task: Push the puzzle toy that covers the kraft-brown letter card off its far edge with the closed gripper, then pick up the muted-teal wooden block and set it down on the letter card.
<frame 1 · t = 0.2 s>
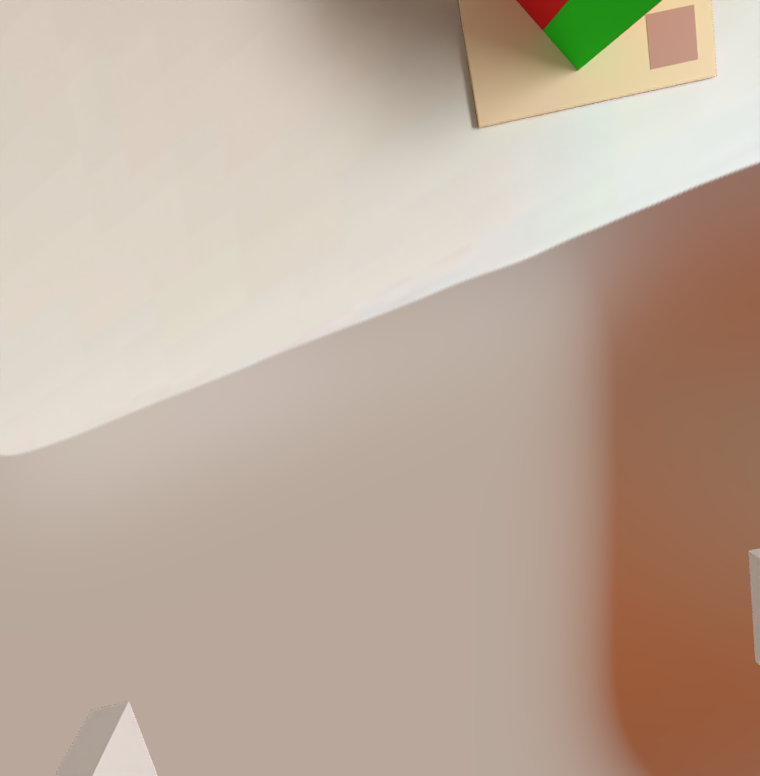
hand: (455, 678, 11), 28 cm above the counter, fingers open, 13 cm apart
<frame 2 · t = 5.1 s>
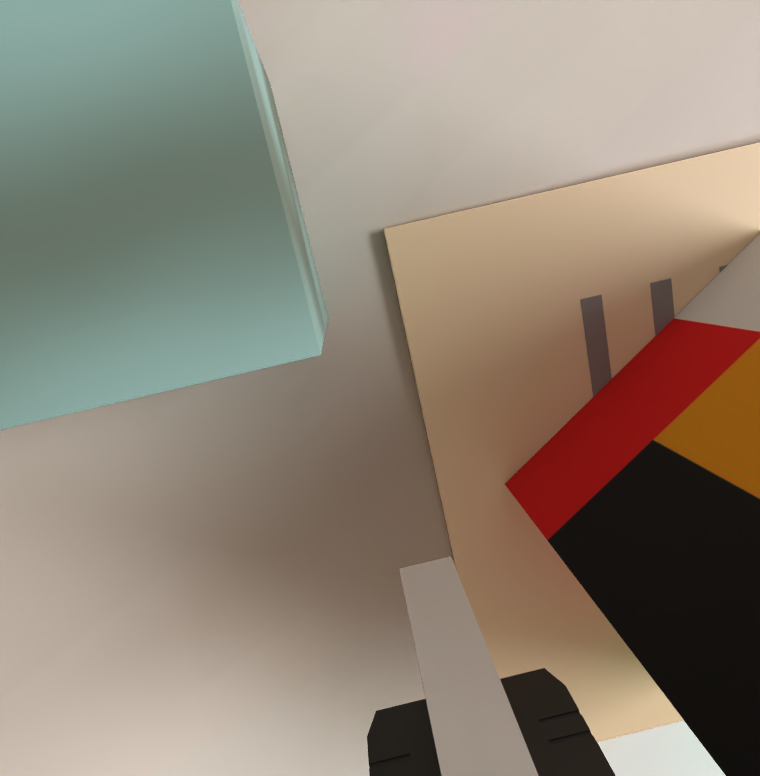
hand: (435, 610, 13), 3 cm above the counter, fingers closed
teal block: (189, 233, 14), on the counter
letter card: (698, 467, 17), on the counter
puzzle toy: (727, 468, 16), resting on letter card, touching gripper, hand
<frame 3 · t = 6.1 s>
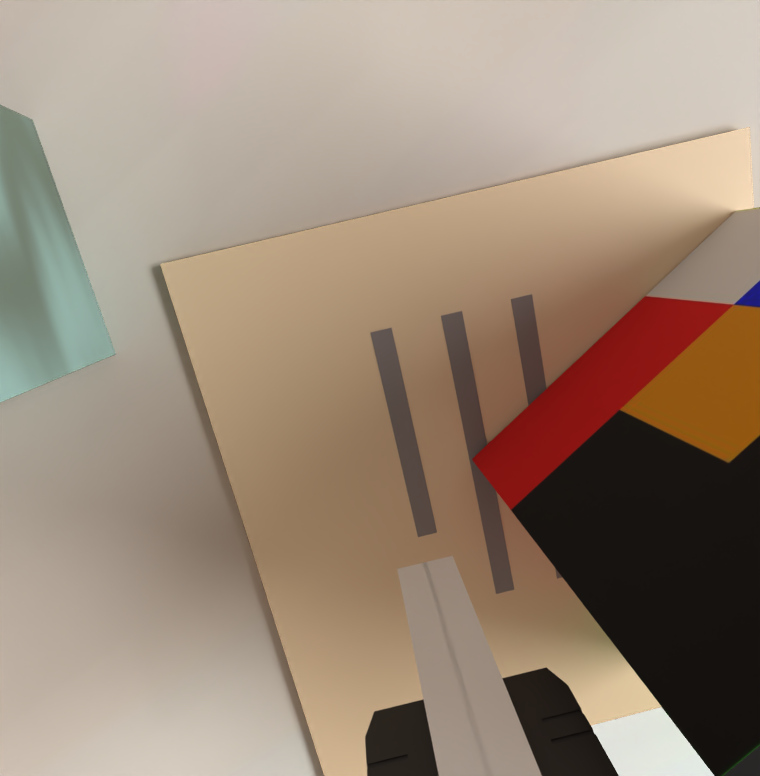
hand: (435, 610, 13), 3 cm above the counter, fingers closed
letter card: (511, 496, 17), on the counter
puzzle toy: (693, 451, 16), on the counter, touching gripper, letter card
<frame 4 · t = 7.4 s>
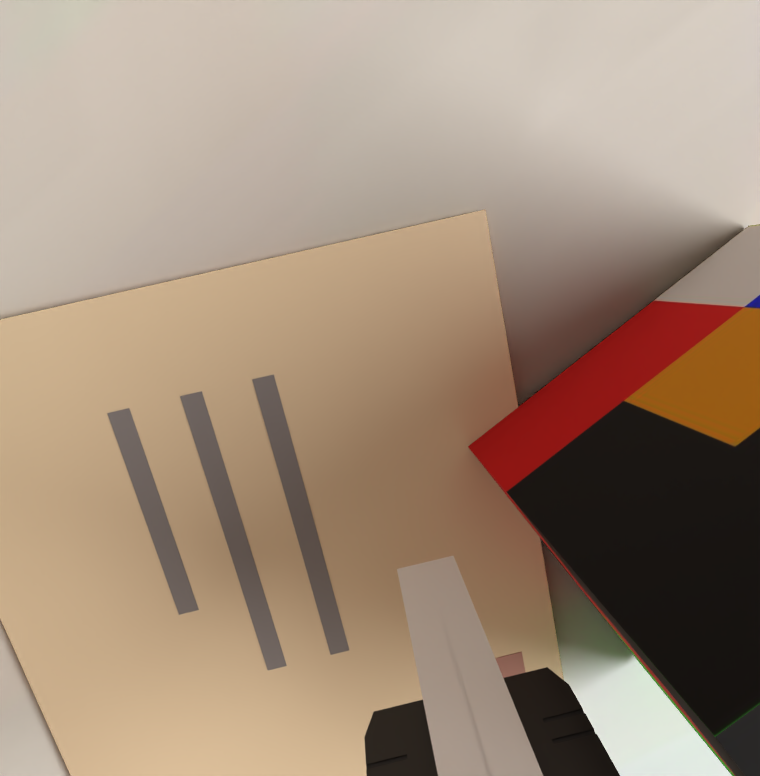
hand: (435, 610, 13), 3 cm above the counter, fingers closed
letter card: (278, 572, 16), on the counter
puzzle toy: (687, 462, 17), on the counter, touching letter card
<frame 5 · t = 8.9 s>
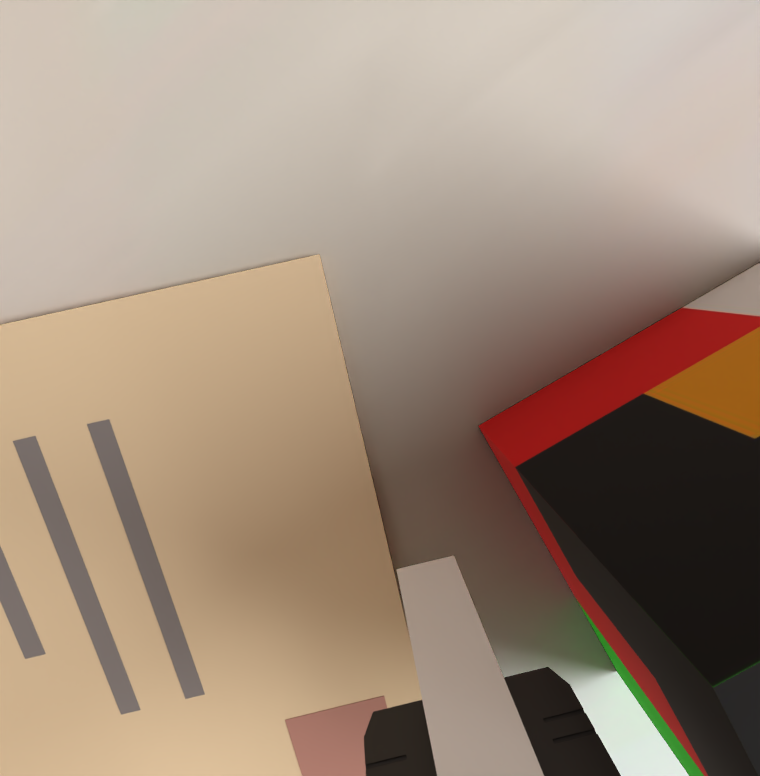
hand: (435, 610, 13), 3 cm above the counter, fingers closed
letter card: (129, 615, 16), on the counter
puzzle toy: (690, 474, 17), on the counter, touching gripper
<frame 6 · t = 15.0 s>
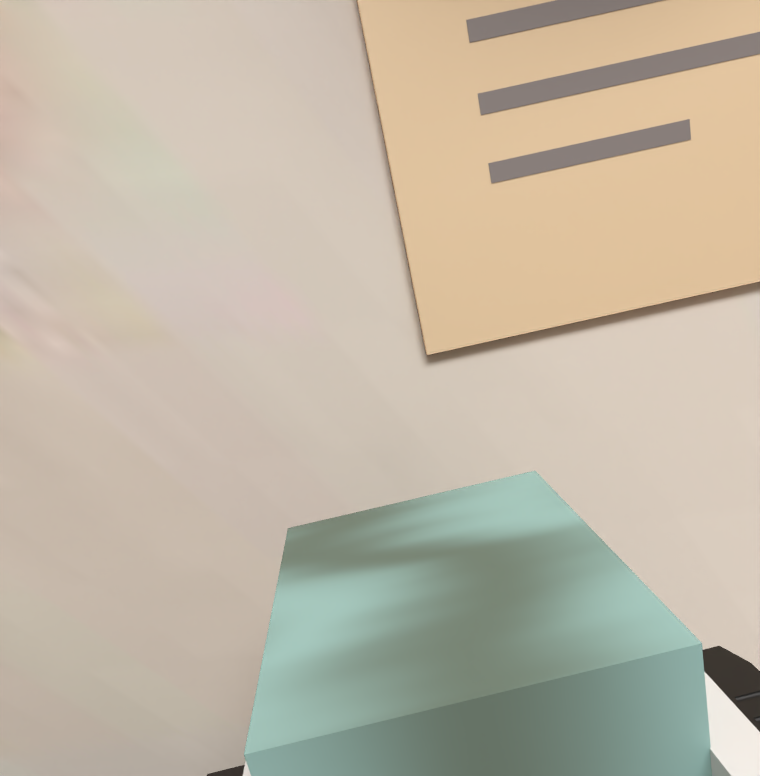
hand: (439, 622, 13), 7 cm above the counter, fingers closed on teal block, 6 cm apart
teal block: (435, 607, 13), point 6 cm above the counter, touching gripper
letter card: (664, 37, 16), on the counter
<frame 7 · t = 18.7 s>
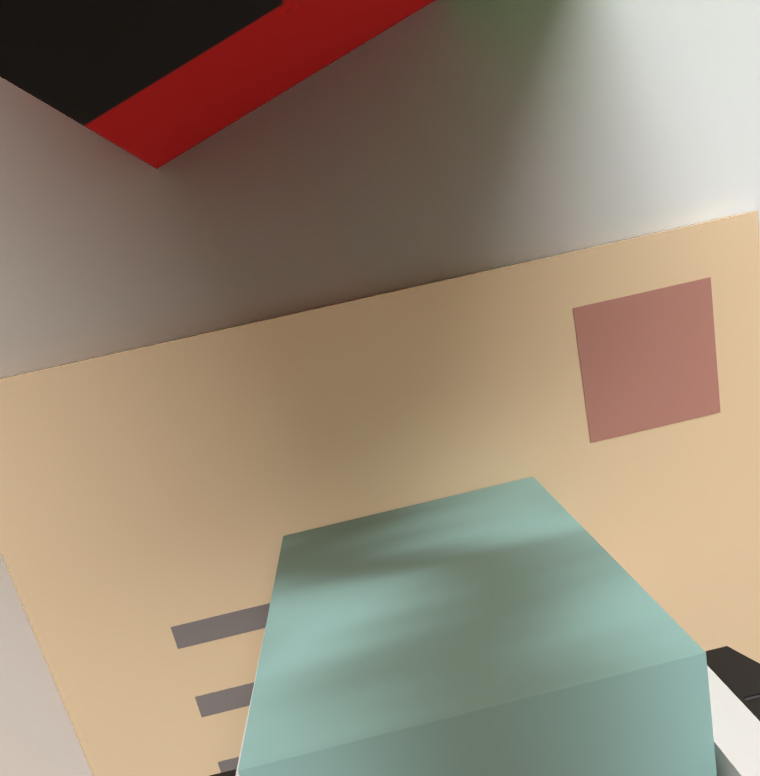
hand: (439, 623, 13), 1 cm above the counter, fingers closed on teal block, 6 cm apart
teal block: (433, 616, 13), resting on letter card, touching gripper
letter card: (427, 613, 13), on the counter
when the fingers open (1 cm above the counter, at t = 18.7 s): teal block stays where it is, resting on letter card.
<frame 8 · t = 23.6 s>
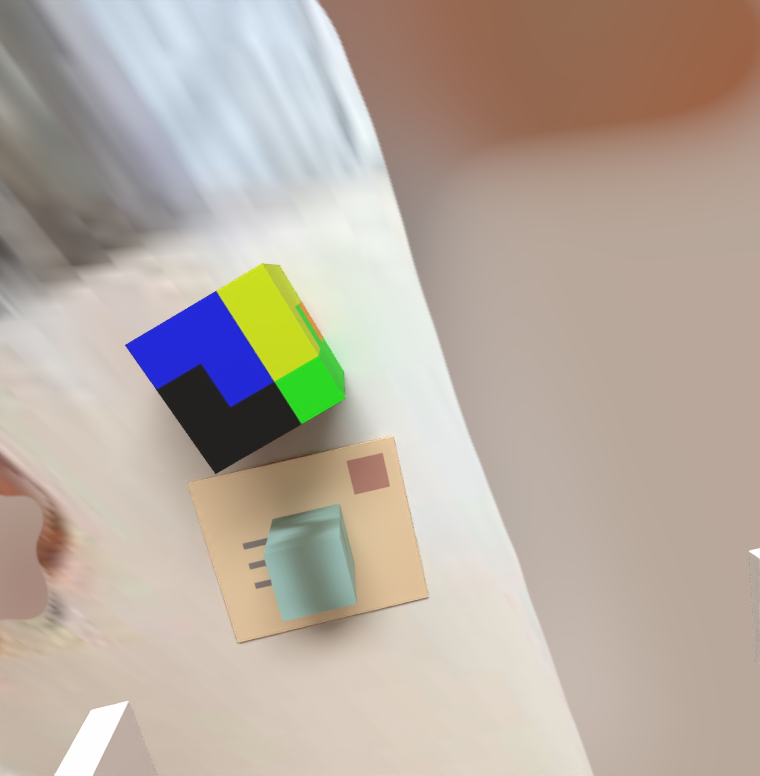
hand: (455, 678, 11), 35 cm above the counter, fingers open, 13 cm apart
teal block: (314, 541, 48), resting on letter card
letter card: (313, 541, 48), on the counter
puzzle toy: (260, 349, 44), on the counter
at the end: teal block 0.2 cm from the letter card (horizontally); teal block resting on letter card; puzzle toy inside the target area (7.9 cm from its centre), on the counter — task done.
